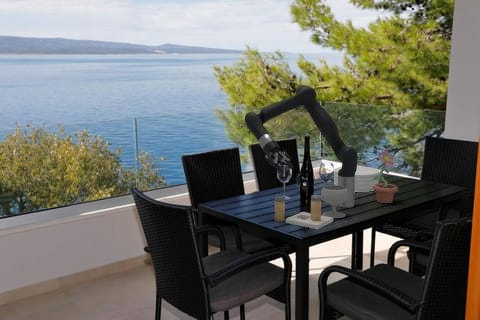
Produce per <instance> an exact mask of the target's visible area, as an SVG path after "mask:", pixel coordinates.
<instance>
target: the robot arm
mask: <svg viewBox="0 0 480 320" xmlns="http://www.w3.org/2000/svg"><path fill="white" fill-rule="evenodd" d="M299 107H303V108H305V110H306V111H307V112H308V115H309V116H310V117H311V119H312V122H313V123H314V125H315V126H316V128H317V129H318V131H319V132H320V134H321V135H322V136H323V138H324V139H325V141H326V142H327V143H328V145H329V146H330V147H331V149H332V151H333V153H334V155H335V157H336V159H337V161H340V162H341V167H342V168H341V169H340V170H339V171H338V185H339V186H344V187H346V189H347V191H348V199H347V200H346V201H345V202H344V203H342V204H340V205H338V206H337V207H339V208H344V209H345V208H347V209H349V208H353V207H355V195H356V193H355V172H356V170H357V166H358V161H359V159H358V158H359V157H358V152H357V150H356V149H355V148H353V147H351V146H348V145H347V144H346V143H345V142H344V140H343V139H342V138H341V136H340V132H339V129H338V128H339V127H338V125H337V123H336V122H335V120H334V119H333V117H332V116H331V115H330V114H329V113H328V111H327V110H326V109H325V108H324V107H323V106H322V105H321V104H320V103H319V101H318V99H317V92H316V90H315V89H314V88H313V87H311V86H309V85H307V84H300V85H298V87H297V88H296V90H295V94H294V95H292V96H291V97H288V98H286V99H283V100H277V101H275V102H272V103H271V104H269V105H267V106H265V107H263V108H261V109H260V112H259V113H258V114H257V113H256V112H254V111H248V112H247V113H246V114H245V116H244V122H245V126H246V127H247V129H249V130H251V131H252V134H253V135H254V138H255V139H256V141H257V142H258V143H259V145H260V147H261V148H262V150H263V151H264V153H265V156H264V159H266V161H267V163H268V165H269V166H273V167H274V169H276V171H278V172H281V171H282V170H283V169H282V167H281V166H280V164H279V163H278V162H282V163H285V164H286V166H287V167H288V169H289V170H292V169H293V168H294V165H293V163H292V162H291V160H292V159H293V158H292V157H291V155H289V153H288V152H287V151H286V150H283V151H281V149H280V146H279V143H277V142H276V140H275V139H274V137H273V136H272V135H271V133H270V132H269V131H268V129H267V128H266V127H265V124H266V123H267V122H268V121H270V120H273V119H275V118H276V117H278V116H280V115H281V116H282V114H285V113H286V112H289V111H291V110H294V109H298V108H299Z"/></svg>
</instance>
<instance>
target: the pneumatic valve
mask: <svg viewBox="0 0 480 320" xmlns="http://www.w3.org/2000/svg"><path fill="white" fill-rule="evenodd" d="M300 174H301V173H300ZM300 174H299V173H298V174H297V175H296V178H295V183H296V185H298V186H301V185H300ZM315 179H316V177H314V181H315Z"/></svg>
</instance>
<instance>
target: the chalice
mask: <svg viewBox="0 0 480 320" xmlns="http://www.w3.org/2000/svg"><path fill="white" fill-rule="evenodd" d="M320 192H321V193H320V195H321V201H323V202H325V203H326V204H328V205H330V207H331V208H332V210H331V211H324V212H323V213H321V215H322V216H327V217H332V218H333V219H341V218H345V217H346V214H345V213H344V212H341V211H337V207H339V206H338V205H340V204H342V203H344V202H345V201H346V200H347V199H348V191H347V189H346V187H344V186H339V185H334V184H330V185H329V184H327V185H324V186H322V189H321V191H320Z"/></svg>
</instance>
